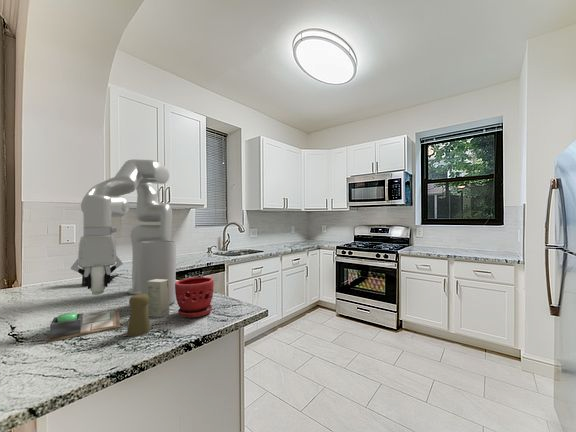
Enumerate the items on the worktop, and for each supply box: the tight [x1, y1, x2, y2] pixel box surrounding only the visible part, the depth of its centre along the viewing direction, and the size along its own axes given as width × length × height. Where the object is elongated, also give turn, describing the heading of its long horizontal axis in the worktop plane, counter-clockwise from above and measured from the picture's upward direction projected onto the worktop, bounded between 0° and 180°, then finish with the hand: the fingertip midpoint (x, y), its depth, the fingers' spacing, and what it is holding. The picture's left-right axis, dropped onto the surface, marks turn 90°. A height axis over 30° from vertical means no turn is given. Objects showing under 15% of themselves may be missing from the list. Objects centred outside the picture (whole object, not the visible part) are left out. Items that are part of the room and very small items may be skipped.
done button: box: [57, 312, 78, 323], centre depth 76 cm, size 4×4×2 cm
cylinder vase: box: [141, 240, 177, 306], centre depth 105 cm, size 12×12×25 cm
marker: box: [89, 264, 106, 296], centre depth 86 cm, size 4×4×10 cm
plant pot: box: [175, 276, 214, 319], centre depth 93 cm, size 13×13×12 cm
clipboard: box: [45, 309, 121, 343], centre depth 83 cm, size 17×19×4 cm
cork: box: [126, 294, 151, 337], centre depth 78 cm, size 6×6×11 cm
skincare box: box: [147, 279, 170, 318], centre depth 92 cm, size 6×4×12 cm
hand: (97, 286), depth 86 cm, fingers closed on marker, 4 cm apart
